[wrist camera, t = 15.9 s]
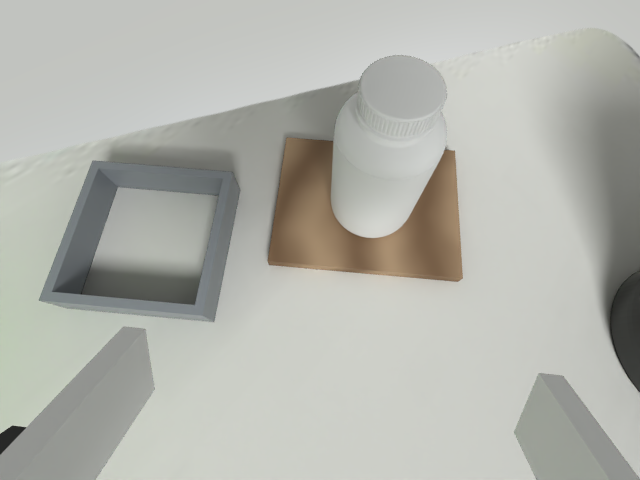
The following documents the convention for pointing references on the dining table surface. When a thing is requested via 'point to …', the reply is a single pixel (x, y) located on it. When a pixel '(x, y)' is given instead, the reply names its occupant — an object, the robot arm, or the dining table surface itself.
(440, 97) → the pill bottle
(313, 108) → the dining table surface
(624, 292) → the robot arm
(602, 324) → the dining table surface
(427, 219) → the board
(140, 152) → the dining table surface
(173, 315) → the bin
